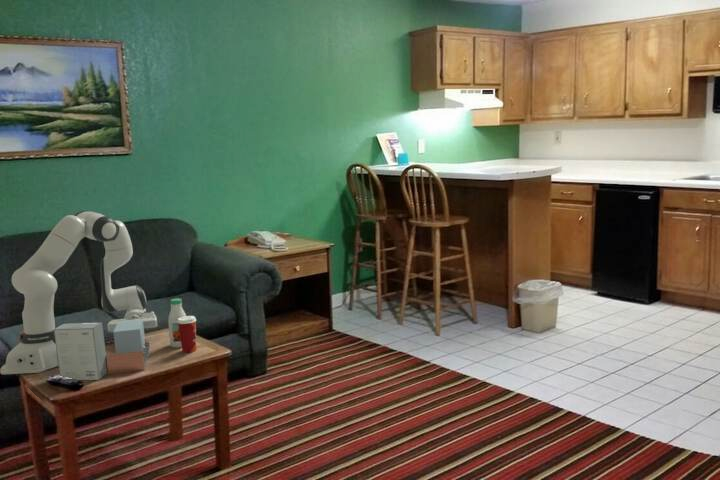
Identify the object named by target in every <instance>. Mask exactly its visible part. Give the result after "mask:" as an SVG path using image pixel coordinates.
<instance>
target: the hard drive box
mask: <svg viewBox="0 0 720 480" xmlns="http://www.w3.org/2000/svg"><path fill="white" fill-rule="evenodd" d="M54 336H55V344H56V351H57V359H58V366H57V367H58V373H59V377H60V376H62V377H68V378H72V379H77V380H76V381H100V380H101V379H102V378H103V377H105V376H106V375H107V374H108V367H107V358H106V356H107V353H106V345H105V336H104V329H103V322H75V323H62V324H61V325H59V326H57V327H56V328H55V329H54Z"/></svg>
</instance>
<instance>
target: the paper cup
mask: <svg viewBox="0 0 720 480" xmlns="http://www.w3.org/2000/svg"><path fill="white" fill-rule="evenodd" d="M177 323H178V326H179V333H180V339H181V346H182V347H181V349H182V351H181V352H182V353H183V354H190V353H195V352H196V351H197V318H196V316H194V315H186V316H183V317H180V318H178V321H177Z"/></svg>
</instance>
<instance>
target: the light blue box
mask: <svg viewBox="0 0 720 480" xmlns="http://www.w3.org/2000/svg"><path fill="white" fill-rule="evenodd" d="M112 333H113V339H114V352H115V351H116V354H118V353H126V352H135V351H142V350H143V346H144V342H145V341H146V339H145V338H146V337H145V329H144V326H143V320H135V321H125V322H118V323H117V325H116V327H115V329H114V332H112ZM145 343H146V342H145Z"/></svg>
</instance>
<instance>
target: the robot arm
mask: <svg viewBox="0 0 720 480" xmlns="http://www.w3.org/2000/svg"><path fill="white" fill-rule="evenodd" d="M84 238H87V239H89V240H94V241H98V242H101V243H103V246H104V249H105V255H104V257H102V258H101V261H100V264H99V265H100V268H99V269H100V270H99V271H100V282H101V283H100V285H101V306H102V307H101V308H102V309H103V310H104V311H105V312H107V313H110V314H112V313H116V312H120V311H124V310H126V312H125V315H124V317H123V318H118V319H112V320H110V321H109V322H108V323H107V331H108V332H109V333H113V332H114V329H115V327H116V325H117V323H118V322H125V321H135V320H143V326H144V330H145V329H155V328H157V327H158V319H157V316H156V314H155V311H147V309H146V308H147V306H148V300H147V299H148V298H147V295H146V292H145V290H144V289H143V288H142V287H141V286H139V285H131V286H130V285H129V286H127V287H122V288H117V289H113V288H112V278H111V277H112V276H111V275H112V273H113V272H115V270H117V269H119V268H121V267H122V266H124V265H126V264H127V263H128V262H130V260H131V259H132V257H133V254H134V249H133V243H132V240H131V236H130V234H129V231H128V229H127V227H126V225H125V223H124V222H122V221H120V220H114V218H112V217H109V216H107V215H104V214H102V213H99V212H94V211H90V210H80V211H78V212H76V213H75V214H73V215H72V214H69V215H65V216H64V217H62V218H61V220H59V222H58V223H56V224H55V226H54V228H53V229H52V230H51V231H50V233H49V234H48V235H47V237H46V238H45V240H44V241H43V243H42V244H41V245H40V246H39V248H38V249H37V250H36V252H35V253H34V254H33V255H31V257H30V258H29V259H28V260H27V261H26V262H24V264H23V265H22V266H20V267H19V268H18V269H16V270H15V271H14V272H13V274H12V275H11V285H12V286H13V288H14V289H15V290H16V292H19V293H20V294H22V295H23V297H24V306H23V310H22V312H21V316H22V322H23V323H22V324H23V330H22V331H21V332H20V334H19V337H18V341H19V343H18V344H17V345H16V346H15V347H14V348H12V349H11V350H10V351H9V352H8V353H7V356H6V360H5V364H3V365H2V366H1V368H0V374H1V375H19V374H21V375H22V374H33V373H34V374H36V373H37V374H38V373H42V372H45V371H46V370H49V369H53V368H56V367H59V366H58V359H57V351H56V344H55V336H54V329H55V328H57V327H56V322H55V315H54V314H55V313H54V312H55V311H54V303H55V294H56V292H57V290H58V280H57V279H56V278H55V276H54V273H56V272H57V271H58V270H59V269H60V268H62V267H63V266H64V265H65V264H66V263H67V261H68V259H69V258H70V256H72V254H73V252H74V251H75V249H76V248H77V246H78V245H79V243H80V242H81V241H82V240H83V239H84Z"/></svg>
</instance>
